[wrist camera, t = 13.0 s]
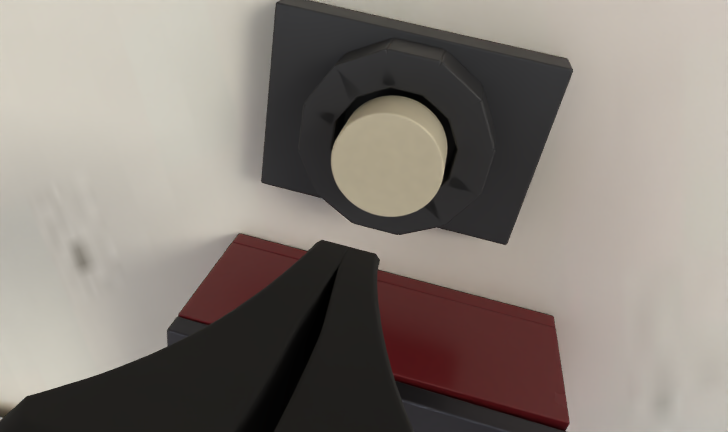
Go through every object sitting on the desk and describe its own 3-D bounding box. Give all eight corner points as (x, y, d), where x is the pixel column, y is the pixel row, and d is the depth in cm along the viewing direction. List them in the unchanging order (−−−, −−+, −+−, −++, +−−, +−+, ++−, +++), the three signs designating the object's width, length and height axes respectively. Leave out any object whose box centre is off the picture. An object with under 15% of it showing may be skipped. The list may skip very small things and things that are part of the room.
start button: (460, 109, 18) (456, 128, 16) (433, 203, 20) (428, 229, 18) (351, 83, 18) (339, 100, 16) (335, 179, 20) (323, 202, 18)
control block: (568, 58, 19) (581, 84, 16) (506, 227, 22) (507, 269, 20) (288, -5, 20) (258, 10, 17) (272, 168, 23) (245, 202, 21)
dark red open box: (554, 315, 24) (570, 423, 19) (475, 481, 31) (471, 593, 26) (238, 232, 25) (177, 314, 20) (228, 409, 32) (180, 503, 27)
